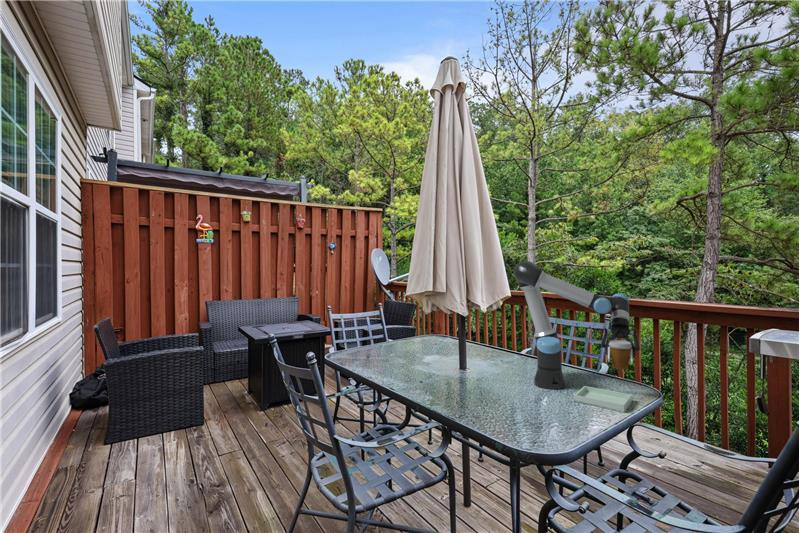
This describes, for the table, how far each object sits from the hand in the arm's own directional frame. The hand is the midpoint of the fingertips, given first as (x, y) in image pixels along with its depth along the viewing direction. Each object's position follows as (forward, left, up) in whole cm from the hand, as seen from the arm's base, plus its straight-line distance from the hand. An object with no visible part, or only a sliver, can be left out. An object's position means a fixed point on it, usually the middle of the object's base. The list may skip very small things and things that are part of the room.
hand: (619, 361), depth 179 cm
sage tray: (-5, -11, -16) cm, 20 cm away
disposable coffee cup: (-1, +3, -4) cm, 5 cm away
